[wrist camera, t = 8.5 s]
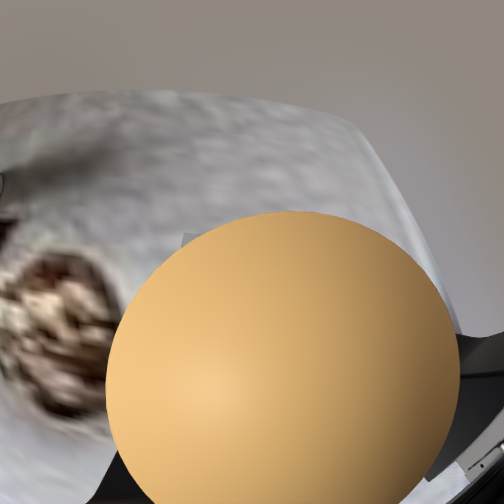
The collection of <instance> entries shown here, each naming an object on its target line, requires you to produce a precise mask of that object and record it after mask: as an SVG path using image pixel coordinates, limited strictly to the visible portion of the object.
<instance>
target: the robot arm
mask: <svg viewBox="0 0 504 504" xmlns="http://www.w3.org/2000/svg"><path fill="white" fill-rule="evenodd" d="M455 335H456V339H457V344H458V351H459V361H460V385H459V393H458V400H457V406H456V410H455V414H454V417H453V421H452V425H451V427H450V430H449V432H448V435H447V437H446V440H445V442H444V445H443V446H442V448H441V450H440V452H439V454H438V456H437V458H436V459H435V461H434V463H433V464H432V466H431V467H430V469H429V470H428V472H427V473H426V474H425V476H424V478H425V479H426V480H427V481H428V482H430V481H431V480H432V479H434V478H435V477H436V476H438V475H439V474H440V473H441V472H443V471H444V470H445V469H446V468H448V467H449V466H450V465H451V464H452V463H454V462H455V461H456V462H457V463H458V465H459V466H460V467H461V468H462V470H463V471H464V472H465V476H466V478H467V479H468V480H469V481H470V484H469V485H467V486H466V487H465V488H464V489H463V490H462V491H461V492H460V493H458V494H457V495H456V496H455V497H454V498H452V499H451V500H450V501H449V502H447V503H446V504H504V332H502V333H498V334H495V335H492V336H489V337H482V338H477V337H470V336H465V335H461V334H456V333H455ZM86 504H155V503H154V502H153V501H152V500H151V499H150V498H149V497H148V496H147V495H146V494H145V493H144V492H143V490H142V489H141V488H140V486H139V485H138V484H137V482H136V481H135V480H134V478H133V477H132V476H131V474H130V473H129V471H128V469H127V467H126V465H125V464H124V462H123V460H122V458H121V456H120V454H119V452H118V450H117V452H116V454H115V456H114V458H113V460H112V462H111V464H110V466H109V468H108V470H107V472H106V474H105V476H104V478H103V479H102V481H101V483H100V485H99V487H98V489H97V491H96V493H95V494H94V496H93V497H92V498H91V499H90V500H89V501H88V502H87V503H86Z"/></svg>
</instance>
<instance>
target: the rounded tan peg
mask: <svg viewBox="0 0 504 504" xmlns="http://www.w3.org/2000/svg"><path fill="white" fill-rule="evenodd" d="M459 385H460V361H459V351H458V344H457V339H456V335H455V331H454V327H453V323H452V321H451V318H450V315H449V313H448V310H447V308H446V305H445V303H444V301H443V300H442V298H441V296H440V294H439V292H438V290H437V288H436V287H435V285H434V284H433V283H432V281H431V280H430V278H429V277H428V276H427V274H426V273H425V272H424V270H423V269H422V268H421V267H420V266H419V265H418V264H417V263H416V262H415V261H414V260H413V259H412V258H411V256H409V255H408V254H407V253H406V252H405V251H403V250H402V249H401V248H400V247H399V246H397V245H396V244H395V243H393V242H392V241H390V240H389V239H387V238H386V237H384V236H382V235H381V234H379V233H377V232H376V231H374V230H371V229H369V228H367V227H365V226H363V225H361V224H358V223H356V222H353V221H350V220H346V219H343V218H340V217H337V216H332V215H326V214H320V213H314V212H296V211H286V212H274V213H264V214H260V215H255V216H251V217H246V218H242V219H239V220H236V221H233V222H230V223H227V224H225V225H222V226H219V227H217V228H215V229H213V230H211V231H209V232H207V233H205V234H203V235H201V236H199V237H197V238H195V239H194V240H192V241H191V242H189V243H188V244H187V245H185V246H184V247H182V248H181V249H179V250H178V251H176V252H175V253H174V254H173V255H171V256H170V257H169V258H168V259H167V260H166V261H165V262H164V263H163V264H162V265H160V266H159V267H158V268H157V269H156V270H155V271H154V272H153V274H152V275H151V276H150V277H149V278H148V279H147V281H146V282H145V283H144V284H143V286H142V287H141V288H140V289H139V290H138V292H137V294H136V295H135V297H134V298H133V300H132V302H131V303H130V305H129V306H128V308H127V310H126V311H125V313H124V316H123V318H122V320H121V322H120V325H119V327H118V329H117V332H116V334H115V337H114V341H113V344H112V348H111V352H110V355H109V360H108V368H107V376H106V405H107V412H108V418H109V423H110V428H111V432H112V435H113V438H114V441H115V443H116V446H117V449H118V452H119V454H120V456H121V458H122V460H123V462H124V464H125V465H126V467H127V469H128V471H129V473H130V474H131V476H132V477H133V478H134V480H135V481H136V482H137V484H138V485H139V486H140V488H141V489H142V490H143V492H144V493H145V494H146V495H147V496H148V497H149V498H150V499H151V500H152V501H153V502H154V503H155V504H399V503H400V502H401V501H402V500H403V499H404V498H405V497H406V496H407V495H408V494H409V493H410V492H411V491H412V490H413V489H414V488H415V487H416V486H417V484H418V483H419V482H420V481H421V480H422V478H423V477H424V476H425V474H426V473H427V472H428V470H429V469H430V467H431V466H432V464H433V463H434V461H435V459H436V458H437V456H438V454H439V452H440V450H441V448H442V446H443V445H444V442H445V440H446V437H447V435H448V432H449V430H450V427H451V425H452V421H453V417H454V414H455V410H456V406H457V400H458V393H459Z"/></svg>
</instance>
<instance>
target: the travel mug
mask: <svg viewBox="0 0 504 504" xmlns="http://www.w3.org/2000/svg"><path fill="white" fill-rule="evenodd" d="M2 188H3V178H2V176H1V174H0V195H1V192H2Z"/></svg>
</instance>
